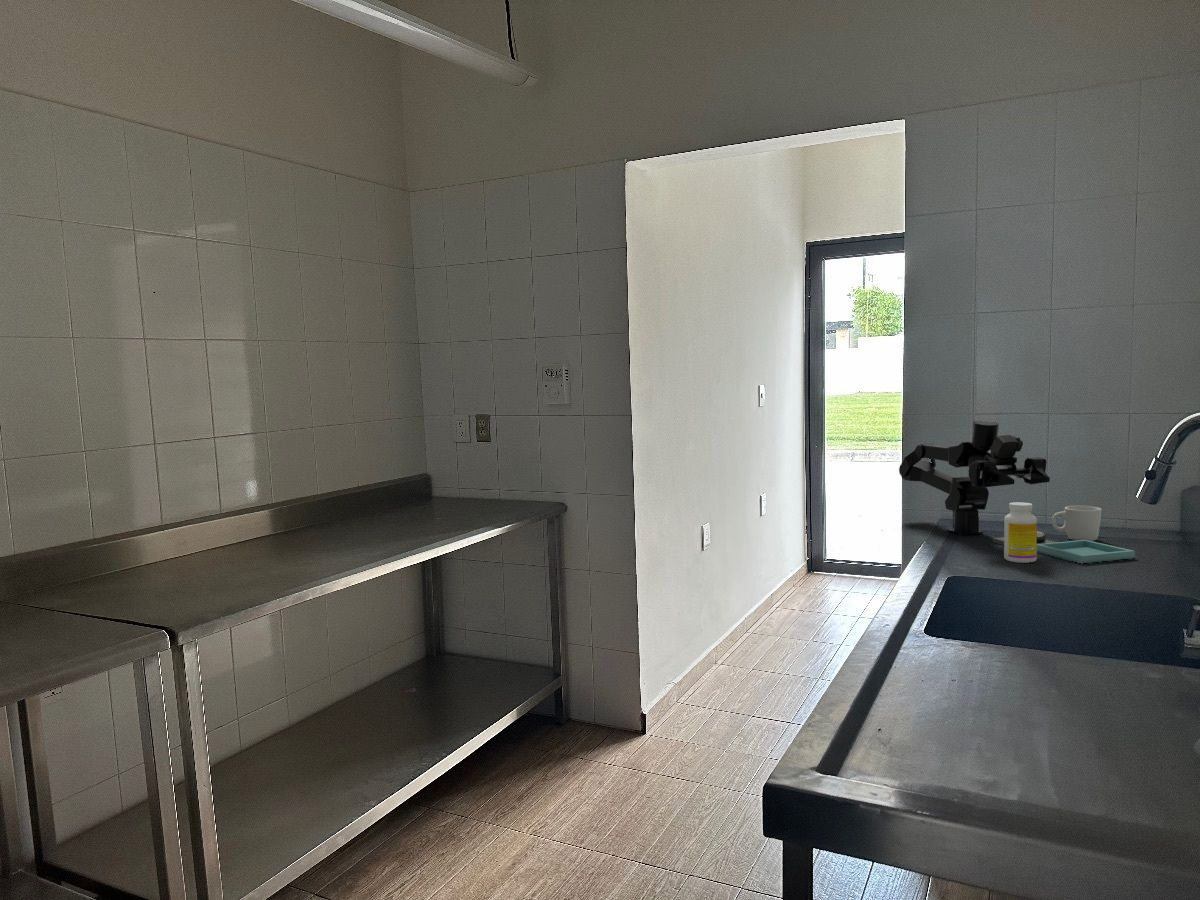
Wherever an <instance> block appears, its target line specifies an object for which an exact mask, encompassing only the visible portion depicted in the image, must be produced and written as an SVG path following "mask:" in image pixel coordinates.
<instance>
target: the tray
mask: <svg viewBox="0 0 1200 900" xmlns="http://www.w3.org/2000/svg"><path fill="white" fill-rule="evenodd" d="M1054 542H1055V543H1044V544H1037V554H1041V555H1045V556H1048V555H1050V556H1049V557H1052V556H1054V557H1053V558H1056V557H1057V558H1056V559H1060V558H1061V559H1060V560H1064V561H1068V562H1072V561H1073V562H1072V563H1075V562H1077V563H1076V564H1079V563H1081V565H1084V564H1083V563H1089V564H1092V563H1091V562H1099V563H1101V562H1100V561H1109V560H1117V559H1129V560H1132V559H1131V558H1136V550H1132V549H1129V548H1123V547H1120V546H1115V545H1110V544H1106V543H1103V542H1102V543H1100V542H1096V541H1088V540H1066V541H1054ZM1109 562H1110V561H1109Z"/></svg>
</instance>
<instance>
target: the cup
mask: <svg viewBox="0 0 1200 900" xmlns="http://www.w3.org/2000/svg"><path fill="white" fill-rule="evenodd" d="M1102 511H1103V509H1102V508H1101V507H1097V506H1092V505H1067V506H1065V507H1064V510H1063V511H1058V512H1055V513H1054V514H1053V515H1052V518H1051V524H1052V526H1053V528H1054V529H1055V530H1057V531H1060V532H1066V535H1067V537H1068V539H1070V540H1071V541H1076V540H1088V541H1093V542H1095V541H1096V540H1097V539H1098V538H1099V533H1100V526H1101V517H1102V513H1103V512H1102ZM1059 517H1063V519H1064V520H1063V521H1064V524H1063V525H1062V526H1058V524H1057V518H1059Z"/></svg>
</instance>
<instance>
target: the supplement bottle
mask: <svg viewBox="0 0 1200 900" xmlns="http://www.w3.org/2000/svg"><path fill="white" fill-rule="evenodd" d="M1008 509H1009V513H1007V515H1005V516H1004V519H1003V520H1004V521H1003V523H1004V524H1003V531H1004V532H1003V537H1004V545H1003V558H1004V559H1005V560H1006V561H1009V562H1011V563H1018V564H1029V563H1030V562H1031V563H1034V562H1036V561H1037V559H1038V553H1037V531H1038V519H1037V517H1036V516H1035V515H1034V514H1032V511H1033V503H1030V502H1023V501H1019V502H1018V501H1016V502H1013V501H1012V502H1009V504H1008Z"/></svg>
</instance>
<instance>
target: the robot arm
mask: <svg viewBox="0 0 1200 900" xmlns="http://www.w3.org/2000/svg"><path fill="white" fill-rule="evenodd" d="M972 425H973V426H972V428H973V429H972V438H971V439H972V441H962V442H961V443H959V444H957V445H954V446H949V445H940V444H934V443H920V444H917V445H916V447H915V449H914V450H913V451H911V452H910V453H909V454H908V455H906V456H905V457H904V459H903V460H902V461H901V463H900V465H899V467H898V472H899V475H900V476H901V479H902V480H904V481H908V482H921V483H924V484H925V485H928V486H930V487H932V488H935V489H937V490H939V491H941V492H943V493H946V494H947V495H948V496H947V498H946V499H945V501H944V504H945V505H944V506H945V509H946V510H949V511H952V529H953V528H954V532H955V533H954V534H958V535H962V536H966V535H967V536H969V535H979V534H984V533H985V532H984V531H983V530H981V529H980V516H979V515H980V514H979V512H980V511H979V510H981V511H982V510H983V511H984V510H986V507H987V503H988V501H989V495H990V492H989V489H988V488H995V487H1001V486H1002V487H1003V486H1011V485H1012V486H1013V485H1015V479H1023V482H1024V483H1026V484H1028V485H1041V484H1045V483H1046V484H1047V483H1050V479H1051V477H1050V476H1049V474H1047V473H1046V470H1047V469H1046V468H1047V462H1048V461H1047V460H1046V459H1045V458H1043V457H1040V456H1039V457H1037V456H1036V457H1035V456H1034V457H1027V458H1025V459H1024V464H1023V467H1018V468H1017V465H1016V463H1018V457H1016V456H1015V455H1016V453H1018V452H1021V450H1022V449H1023V445H1024V443H1023V440H1021V437H1019V436H1015V435H1013V436H1012V435H1011V434H1005V435H998V434H999V422H995V421H982V420H973V423H972ZM989 451H990V452H989ZM928 458H929V459H931V462H932V463H930V462H927V461H922V460H923V459H928ZM936 460H937V461H942V462H947V463H948V465H950V466H951V467H954V468H956V469H957V468H968V476H958V477H954V476H951V475H949V474H947V473H944V472H942V471H939V470H937V469H935V468H936V466H937V463H936Z"/></svg>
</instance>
